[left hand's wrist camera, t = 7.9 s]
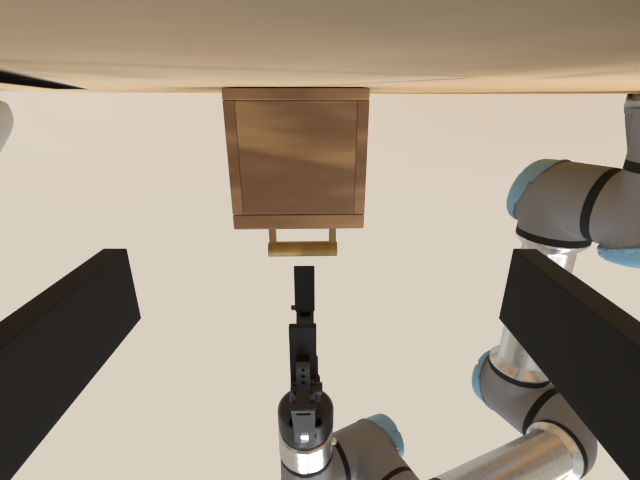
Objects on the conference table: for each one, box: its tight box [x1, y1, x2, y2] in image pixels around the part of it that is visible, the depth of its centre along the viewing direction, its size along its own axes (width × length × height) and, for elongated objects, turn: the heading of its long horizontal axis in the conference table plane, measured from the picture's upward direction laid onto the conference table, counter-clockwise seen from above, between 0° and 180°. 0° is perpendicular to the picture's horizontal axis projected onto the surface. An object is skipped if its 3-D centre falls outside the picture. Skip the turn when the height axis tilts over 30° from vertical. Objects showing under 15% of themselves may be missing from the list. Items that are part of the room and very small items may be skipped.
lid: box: [233, 213, 364, 256], centre depth 36 cm, size 15×10×8 cm, turn 179°
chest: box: [222, 88, 370, 215], centre depth 32 cm, size 14×10×9 cm
